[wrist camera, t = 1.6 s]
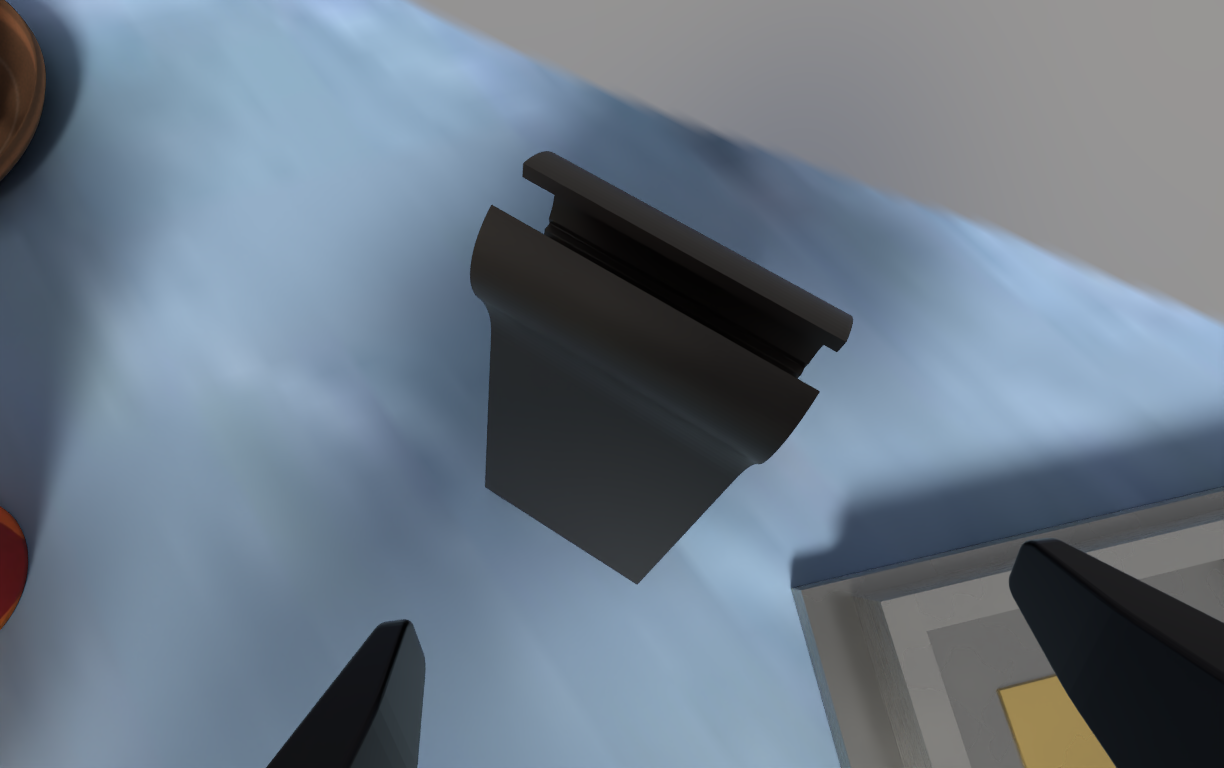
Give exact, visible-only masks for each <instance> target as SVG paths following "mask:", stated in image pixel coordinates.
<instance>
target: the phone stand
mask: <svg viewBox="0 0 1224 768" xmlns="http://www.w3.org/2000/svg"><path fill="white" fill-rule="evenodd" d="M523 177H524V178H525V179H527V180H529V181H531V182H532V183H534V184H536V185H538V186H540V187H541V188H543V189H545V190H547V191H549V192H550V193H552V194H554V195H555V196H554V202H553V207H552V210H551V214H550V217H549V221H550V224H549V225H548V226H547V227H546V229H545V233H544V234H542V233H540V232H539V231H537V230H535V229H533V228H532V227H530V226H528V225H526V224H525V223H523V222H521V221H519V220H518V219H516V218H514V217H512V216H511V215H509V214H507V213H505V212H504V211H502V210H500V209H498V208H497V207H495V206H493V205H491V207H490V209H489V211H488V213H487V215H486V217H485V219H484V221H483V224H482V226H481V229H480V231H479V234H478V237H477V240H476V243H475V247H474V250H473V255H472V260H471V268H470V280H471V286H472V289H473V292H474V293H475V295H476V296H477V297H478V298H479V299H481V300H482V302H483V303H484V304H485V306H486V307H487V310H488V312H489V315H490V320H491V351H490V376H489V400H488V425H487V450H486V475H485V487H486V488H487V489H489V490H490V491H492V492H494V493H495V494H497V495H498V496H500V497H501V498H503V499H505V500H506V501H508V502H509V503H511V504H512V505H514V506H515V507H517V508H519V509H520V510H522V511H523V512H525V513H526V514H528V515H529V516H531V517H533V518H534V519H536V520H537V521H539V522H540V523H542V524H543V525H545V526H547V527H548V528H550V529H551V530H553V531H554V532H556V533H557V534H559V535H561V536H562V537H564V538H565V539H567V540H568V541H570V542H572V543H573V544H575V545H576V546H578V547H579V548H581V549H582V550H584V551H586V552H587V553H589V554H590V555H592V556H593V557H595V558H596V559H598V560H600V561H601V562H603V563H604V564H606V565H607V566H609V567H610V568H612V569H614V570H615V571H617V572H618V573H620V574H621V575H623V576H624V577H626V578H628V579H629V580H631V581H632V582H634V583H635V584H638V583H639V582H640V581H641V580H642V579H643V578H644V577H645V576H646V575H647V574H648V573H649V571H650V570H651V569H652V568H653V567H654V566H655V565H656V564H657V563H658V562H659V561H660V560H661V559H662V557H663V556H664V555H665V554H666V553H667V552H668V551H669V550H670V549H671V548H672V547H673V546H674V545H675V543H676V542H677V541H678V540H679V539H680V538H681V537H682V536H683V535H684V534H685V533H686V532H687V531H688V529H689V528H690V527H691V526H692V525H693V524H694V523H695V522H696V521H697V520H698V519H699V518H700V517H701V515H702V514H703V513H704V512H705V511H706V510H707V509H708V508H709V507H710V506H711V505H712V504H713V503H714V502H715V500H716V499H717V498H718V497H719V496H720V495H721V494H722V493H723V492H724V491H725V490H726V489H727V488H728V486H729V485H730V484H731V483H732V482H733V481H734V480H735V479H736V478H737V477H738V476H739V475H740V474H741V473H742V472H743V471H744V470H746V469H747V468H748V467H750V466H752V465H754V464H762V463H764V462H765V461H767V460H768V459H769V458H770V457H771V456H772V455H773V454H774V453H775V452H776V451H777V450H778V449H779V448H780V447H781V445H782V444H783V443H784V442H785V441H786V439H787V438H788V437H789V436H790V434H791V433H792V432H793V430H794V429H795V428H796V426H797V425H798V424H799V422H800V421H801V419H802V418H803V416H804V415H805V414H806V412H807V411H808V409H809V408H810V406H811V405H812V403H813V402H814V400H815V398H816V397H817V395H818V394H819V392H820V391H818V390H816V389H815V388H813V387H811V386H809V385H808V384H806V383H804V382H802V381H801V380H799V379H797V378H798V377H799V376H800V375H801V373H802V372H803V370H804V368H805V367H806V366H807V365H808V364H809V362H810V361H811V360H812V358H813V357H814V356H815V354H816V353H817V352H818V350H819V349H820V348H821V347H822V346H823V345H825V346H827V347H828V348H830V349H832V350H834V351H836V352H838V351H839V350H840V348H841V347H842V346H843V345H844V344H845V343H846V342H847V339H848V337H849V334H850V331H851V328H852V324H853V317H852V316H851V315H849V314H847V313H845V312H843V311H842V310H840V309H838V308H836V307H834V306H832V305H831V304H829V303H827V302H825V301H823V300H821V299H820V298H818V297H816V296H814V295H812V294H810V293H809V292H807V291H805V290H803V289H801V288H800V287H798V286H796V285H794V284H792V283H790V282H789V281H787V280H785V279H783V278H781V277H779V276H778V275H776V274H774V273H772V272H770V271H768V270H767V269H765V268H763V267H761V266H759V265H757V264H756V263H754V262H752V261H750V260H748V259H746V258H745V257H743V256H741V255H739V254H737V253H736V252H734V251H732V250H730V249H728V248H726V247H725V246H723V245H721V244H719V243H717V242H715V241H714V240H712V239H710V238H708V237H706V236H704V235H703V234H701V233H699V232H697V231H695V230H693V229H692V228H690V227H688V226H686V225H684V224H683V223H681V222H679V221H677V220H675V219H673V218H672V217H670V216H668V215H666V214H664V213H662V212H661V211H659V210H657V209H655V208H653V207H651V206H650V205H648V204H646V203H644V202H642V201H640V200H639V199H637V198H635V197H633V196H631V195H630V194H628V193H626V192H624V191H622V190H620V189H619V188H617V187H615V186H613V185H611V184H609V183H608V182H606V181H604V180H602V179H600V178H598V177H597V176H595V175H593V174H591V173H589V172H587V171H586V170H584V169H582V168H580V167H578V166H576V165H575V164H573V163H571V162H569V161H567V160H566V159H564V158H562V157H560V156H558V155H556V154H555V153H553V152H549V151H546V152H541V153H538V154H536V155H534V156H532V157H531V158H529V159H528V160H527V161H525V162H524V163H523Z"/></svg>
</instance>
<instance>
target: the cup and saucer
mask: <svg viewBox="0 0 1224 768" xmlns="http://www.w3.org/2000/svg"><path fill="white" fill-rule="evenodd" d="M45 86H46V72H45V64H44V59H43V55H42V52H41V49H40V46H39V44H38V42H37V40H36V38H35V36H34V34H33V33H32V31H31V30H30V28H29V27H28V25H27V24H26V23H25V21H24V20H23V19H22V17H21V16H20V15H19V14H18V13H17V12H16V11H15V9H14V8H13V7H12V6H11V5H10V4H9V3H7V2H6V1H5V0H0V181H1V180H2V179H3V178H4V177H5V176H6V175H7V174H8V173H9V172H10V171H11V169H12V168H13V167H14V166H15V164H16V163H17V162H18V161H19V159H20V158H21V156H22V155H23V153H24V152H25V150H26V149H27V147H28V145H29V143H30V142H31V140H32V138H33V136H34V133H35V131H36V129H37V126H38V124H39V120H40V117H41V114H42V110H43V104H44V99H45Z"/></svg>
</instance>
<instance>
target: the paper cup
mask: <svg viewBox="0 0 1224 768" xmlns="http://www.w3.org/2000/svg"><path fill="white" fill-rule="evenodd" d="M27 571H28V550H27V545H26V540H25V537H24V534H23V532H22V530H21V528H20V526H19V524H18V523H17V521H16V520H15V519H14V518H13V516H12V515H11V514H10V513H9V512H7V511H6V510H5V509H4V508H2V507H1V506H0V630H1V629H2V627H3V626H4V625H5V623H6V622H7V621H8V619H9V618H10V616H11V615H12V613H13V611H14V610H15V608H16V606H17V604H18V602H19V599H20V597H21V594H22V592H23V589H24V585H25V582H26V577H27Z"/></svg>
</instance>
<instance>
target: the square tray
mask: <svg viewBox="0 0 1224 768" xmlns="http://www.w3.org/2000/svg"><path fill="white" fill-rule="evenodd" d="M1042 538H1055V539H1058V540H1061V541H1063V542H1065V543H1067V544H1069V545H1071V546H1073V547H1075V548H1077V549H1079V550H1081V551H1083V552H1085V553H1087V554H1089V555H1091V556H1093V557H1095V558H1097V559H1099V560H1101V561H1103V562H1105V563H1107V564H1109V565H1111V566H1112V567H1114V568H1116V569H1118V570H1120V571H1122V572H1124V573H1126V574H1128V575H1130V576H1132V577H1134V578H1136V579H1138V580H1140V581H1142V582H1144V583H1146V584H1148V585H1150V586H1152V587H1154V588H1156V589H1158V590H1160V591H1162V592H1164V593H1166V594H1168V595H1170V596H1172V597H1174V598H1176V599H1178V600H1180V601H1182V602H1184V603H1186V604H1188V605H1190V606H1192V607H1194V608H1196V609H1198V610H1200V611H1202V612H1204V613H1206V614H1208V615H1210V616H1212V617H1214V618H1215V619H1217V620H1219V621H1221V622H1223V623H1224V487H1220V488H1216V489H1212V490H1207V491H1203V492H1199V493H1194V494H1190V495H1186V496H1182V497H1177V498H1173V499H1169V500H1165V501H1160V502H1156V503H1152V504H1148V505H1143V506H1139V507H1135V508H1131V509H1126V510H1122V511H1118V512H1114V513H1109V514H1105V515H1101V516H1096V517H1092V518H1088V519H1084V520H1079V521H1075V522H1071V523H1067V524H1062V525H1058V526H1054V527H1050V528H1045V529H1041V530H1037V531H1033V532H1028V533H1024V534H1020V535H1015V536H1011V537H1007V538H1003V539H998V540H994V541H990V542H986V543H981V544H977V545H973V546H969V547H964V548H960V549H956V550H952V551H947V552H943V553H939V554H935V555H930V556H926V557H922V558H917V559H913V560H909V561H905V562H900V563H896V564H892V565H888V566H883V567H879V568H875V569H871V570H866V571H862V572H858V573H854V574H849V575H845V576H841V577H837V578H832V579H828V580H824V581H819V582H815V583H811V584H807V585H802V586H798V587H794V588H791V590H792V593H793V597H794V600H795V604H796V608H797V611H798V615H799V618H800V622H801V625H802V629H803V633H804V636H805V640H806V643H807V647H808V651H809V654H810V658H811V661H812V665H813V668H814V672H815V676H816V679H817V683H818V686H819V690H820V693H821V697H822V701H823V704H824V708H825V711H826V715H827V718H828V722H829V726H830V729H831V733H832V736H833V740H834V743H835V747H836V751H837V754H838V758H839V761H840V765H841V768H1116V767H1115V765H1114V764H1113V762H1112V761H1111V759H1110V758H1109V756H1108V755H1107V753H1106V752H1105V750H1104V749H1103V747H1102V746H1101V744H1100V743H1099V741H1098V740H1097V738H1096V737H1095V736H1094V734H1093V733H1092V731H1091V730H1090V728H1089V727H1088V725H1087V724H1086V722H1085V721H1084V719H1083V718H1082V716H1081V715H1080V713H1079V712H1078V710H1077V709H1076V707H1075V706H1074V704H1073V703H1072V701H1071V699H1070V698H1069V696H1068V695H1067V693H1066V691H1065V690H1064V688H1063V686H1062V685H1061V683H1060V681H1059V680H1058V678H1057V676H1056V674H1055V672H1054V671H1053V669H1052V667H1051V665H1050V663H1049V662H1048V660H1047V658H1046V656H1045V654H1044V653H1043V651H1042V649H1041V647H1040V645H1039V644H1038V642H1037V640H1036V638H1035V636H1034V635H1033V633H1032V631H1031V629H1030V627H1029V625H1028V624H1027V622H1026V620H1025V618H1024V616H1023V615H1022V613H1021V611H1020V609H1019V607H1018V606H1017V604H1016V602H1015V600H1014V598H1013V597H1012V594H1011V592H1010V589H1009V576H1010V573H1011V570H1012V568H1013V565H1014V562H1015V560H1016V557H1017V554H1018V552H1019V549H1020V547H1021V545H1022V544H1023V543H1024V542H1025V541H1028V540H1034V539H1042Z"/></svg>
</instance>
